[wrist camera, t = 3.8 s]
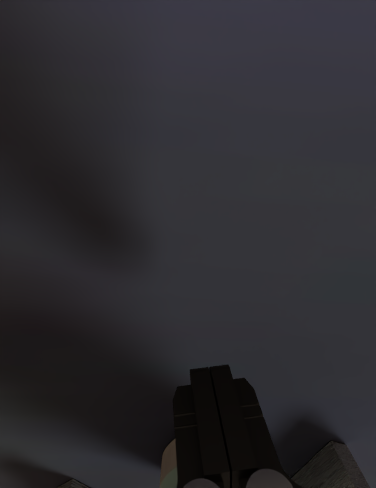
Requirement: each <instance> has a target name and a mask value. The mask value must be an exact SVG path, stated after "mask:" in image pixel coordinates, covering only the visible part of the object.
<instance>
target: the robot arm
mask: <svg viewBox="0 0 376 488" xmlns="http://www.w3.org/2000/svg"><path fill="white" fill-rule="evenodd" d="M209 371H210V372H209ZM190 380H191V385H186V386H179V387H177V390H176V392H175V395H174V398H173V412H174V427H175V444H176V460H177V488H304V487H302V486H300V485H298V484H297V483H295V482H294V481H293V480H291V479H290V478H289V477H288V475H287V474H286V473H285V472H284V470H283V469H282V467H281V465H280V462H279V460H278V457H277V454H276V451H275V448H274V445H273V442H272V440H271V437H270V434H269V431H268V428H267V425H266V422H265V419H264V417H263V414H262V411H261V408H260V406H259V402H258V399H257V396H256V393H255V390H254V388H253V387H252V386H251V385H250V384H249V383H248V381H247V380H246V379H245V378H239V379H233V378H232V374H231V371H230V367H229V365H221V366H213V367H210V368H208V367H206V368H198V369H190ZM345 488H350V487H345Z"/></svg>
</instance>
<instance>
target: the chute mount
mask: <svg viewBox="0 0 376 488" xmlns="http://www.w3.org/2000/svg"><path fill="white" fill-rule="evenodd" d="M291 480H293V481H294V482H295V483H297V484H298V485H300V486H302V487H304V488H345V487H350V488H370V486H369V485H368V483H367V481H366V479H365V477H364V476H363V474H362V472H361V470H360V468H359V467H358V465H357V463H356V461H355V459H354V458H353V456H352V454H351V452H350V451H349V449H348V447H347V445H344V444H341V443H337V442H334V441H330V442H329V443H328V444H327V445H326V446H325V447H324V448H323V449H322V450H321V451H320V452H318V453H317V454H316V455H315V456H314V457H313V458H312V459H311V460H310V461H309V462H308V463H307V464H306V465H305V466H304V467H303V468H302V469H301V470H299V471H298V472H297V473H296V474H295V475H294V476H293V477H292V478H291ZM58 488H89V487H87V486H85V485H83V484H82V483H80V482H78V481H76V480H74V479H72V480H70V481H68V482H66V483H65V484H63V485H61V486H59V487H58Z"/></svg>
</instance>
